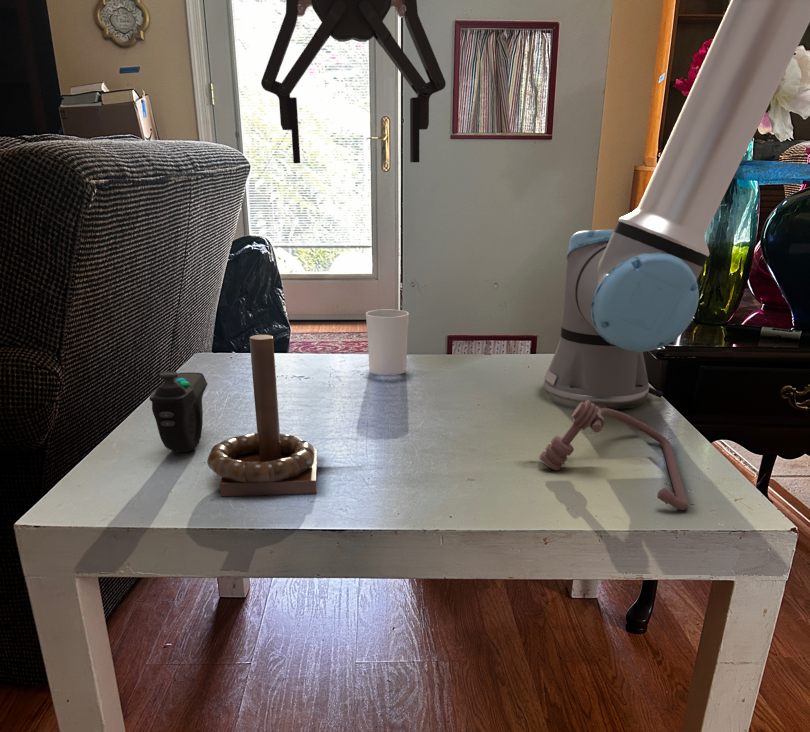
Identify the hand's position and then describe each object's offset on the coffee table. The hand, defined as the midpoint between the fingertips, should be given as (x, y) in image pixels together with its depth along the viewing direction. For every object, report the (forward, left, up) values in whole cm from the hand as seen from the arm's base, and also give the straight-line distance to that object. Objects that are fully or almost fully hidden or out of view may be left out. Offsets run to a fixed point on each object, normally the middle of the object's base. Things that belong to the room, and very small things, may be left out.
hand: (356, 163), depth 90 cm
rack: (+11, +18, -31) cm, 38 cm away
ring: (+12, +19, -29) cm, 36 cm away
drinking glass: (-5, -24, -32) cm, 40 cm away
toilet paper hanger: (-27, +19, -32) cm, 46 cm away
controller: (+22, +7, -32) cm, 39 cm away
